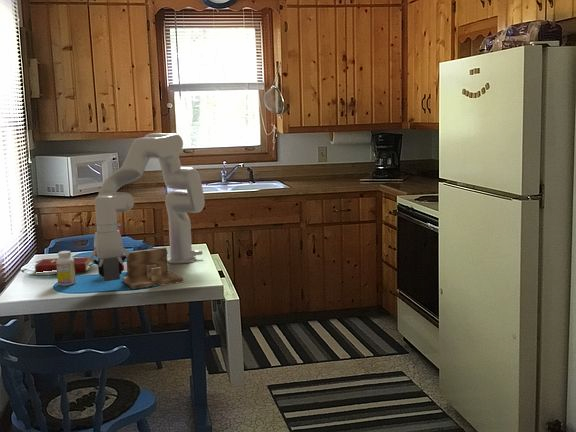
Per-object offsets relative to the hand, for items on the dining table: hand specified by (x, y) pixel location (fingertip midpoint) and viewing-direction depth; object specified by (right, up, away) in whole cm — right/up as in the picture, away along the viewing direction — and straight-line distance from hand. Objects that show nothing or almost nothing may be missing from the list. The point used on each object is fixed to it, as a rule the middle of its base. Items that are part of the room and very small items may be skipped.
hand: (110, 274), depth 262 cm
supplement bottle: (-20, -5, +9) cm, 22 cm away
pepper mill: (-6, -1, +31) cm, 32 cm away
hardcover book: (-29, -1, +34) cm, 45 cm away
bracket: (0, -2, 0) cm, 2 cm away
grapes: (+6, -1, +28) cm, 29 cm away
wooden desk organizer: (+14, -4, +10) cm, 18 cm away
